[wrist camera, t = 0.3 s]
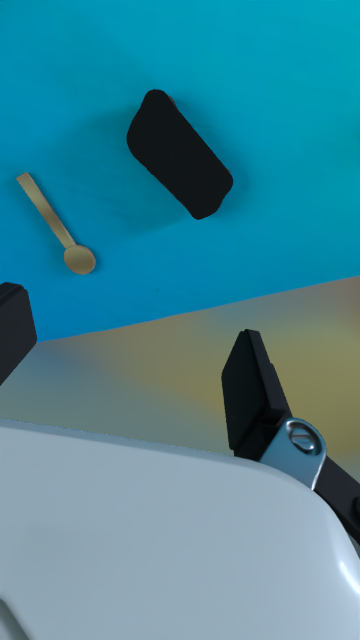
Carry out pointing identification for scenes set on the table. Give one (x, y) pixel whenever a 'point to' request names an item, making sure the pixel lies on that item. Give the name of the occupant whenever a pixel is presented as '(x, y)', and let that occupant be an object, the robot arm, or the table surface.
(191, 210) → the black sponge
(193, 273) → the table surface
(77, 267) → the wooden spoon
